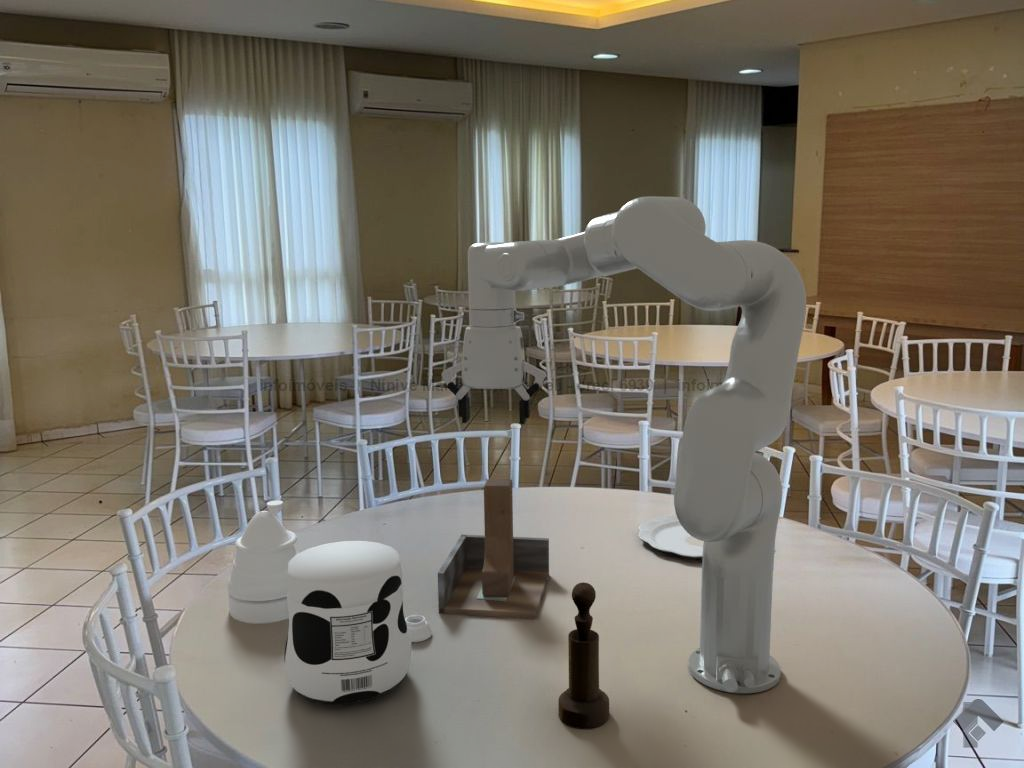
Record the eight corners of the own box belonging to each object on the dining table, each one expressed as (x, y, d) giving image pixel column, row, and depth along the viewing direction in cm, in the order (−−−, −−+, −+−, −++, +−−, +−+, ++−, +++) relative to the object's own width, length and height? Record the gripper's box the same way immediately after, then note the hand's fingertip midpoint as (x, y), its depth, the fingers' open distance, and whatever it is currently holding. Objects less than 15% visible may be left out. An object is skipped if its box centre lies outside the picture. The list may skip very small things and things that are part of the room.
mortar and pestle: (578, 696, 119) (578, 570, 115) (619, 712, 115) (620, 582, 111) (548, 718, 114) (547, 586, 110) (590, 735, 110) (590, 599, 106)
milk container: (350, 642, 135) (344, 530, 132) (437, 673, 125) (433, 553, 122) (259, 691, 121) (251, 567, 118) (349, 730, 111) (342, 597, 108)
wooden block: (508, 597, 147) (507, 494, 144) (482, 597, 148) (479, 493, 144) (513, 576, 156) (512, 478, 153) (488, 576, 157) (486, 478, 153)
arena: (535, 618, 142) (535, 577, 141) (438, 613, 145) (437, 573, 143) (549, 575, 159) (548, 538, 158) (462, 570, 162) (461, 534, 161)
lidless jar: (435, 641, 135) (427, 627, 140) (434, 623, 135) (427, 610, 139) (403, 646, 134) (396, 632, 138) (402, 628, 133) (395, 614, 138)
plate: (794, 554, 168) (795, 544, 168) (681, 574, 159) (681, 564, 159) (718, 515, 191) (718, 506, 191) (616, 531, 182) (616, 522, 182)
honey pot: (309, 587, 156) (303, 489, 152) (308, 618, 143) (301, 512, 140) (233, 594, 153) (225, 495, 150) (225, 627, 141) (217, 519, 137)
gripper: (547, 316, 146) (548, 418, 149) (445, 316, 148) (448, 416, 151) (542, 321, 138) (543, 428, 141) (434, 321, 141) (438, 426, 144)
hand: (494, 421), depth 146 cm, fingers open, 9 cm apart
